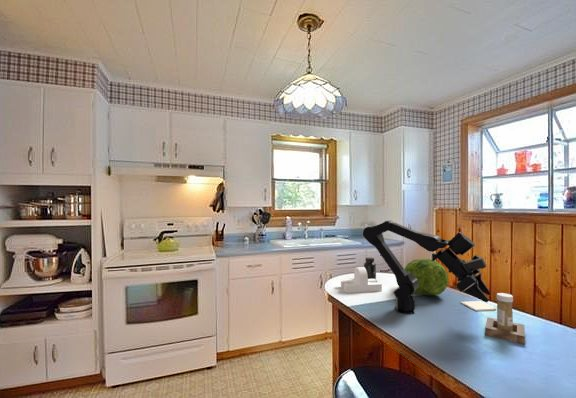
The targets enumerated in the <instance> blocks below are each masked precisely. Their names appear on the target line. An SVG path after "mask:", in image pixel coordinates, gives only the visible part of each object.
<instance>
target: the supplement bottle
mask: <svg viewBox="0 0 576 398" xmlns="http://www.w3.org/2000/svg"><path fill="white" fill-rule="evenodd" d="M363 267H365V269H366V271H367V275H368V279H376V280H377V264H376V262H375V258H374V257H365V262H364V263H363Z"/></svg>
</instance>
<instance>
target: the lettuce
mask: <svg viewBox="0 0 576 398" xmlns="http://www.w3.org/2000/svg"><path fill="white" fill-rule="evenodd" d="M403 268H404V270H405V271H407V272H408V273H410V272H412V273H413V274H414V276H415V277H416V278H417V279H418V280H417V281H418V284H419V286H418V289H417V290H416V291H415V292H416V293H417V294H419V295H422V296H427V297H429V296H437V295H441V294H442V293H444V292H445V290H446V288H447V287H448V284H449V275H448V272H447V269H446V268H445V267H444V266H443V264H442V263H441V262H438V261H436V260H435V261H432V258H420V259H419V258H418V259H413V260H411V261H410V262H408V263H407V264H406V265H405V267H403ZM415 292H414V293H415Z"/></svg>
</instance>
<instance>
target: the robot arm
mask: <svg viewBox="0 0 576 398" xmlns="http://www.w3.org/2000/svg"><path fill="white" fill-rule="evenodd" d="M386 232H392V233H393V234H395V235H398V236H401V237H404V238H406V239H408V240H410V241H412V242H415V243H416V244H417V245H419V247H421V248H422V249H425V250H426V251H427V252H432V253H431V260H432V261H436V260H439V262H440V263H441V264H442V265H444V266H445V267H446V268H447V271H448V273H449V274H452V275H454V277H455V278H457V279H456V281H457V282H456V289H457V290H458V291H459V292H461V293H463V294H464V293H465V294H466V295H468V296H472V297H473V298H476V299H478V300H479V301H481V302H483V303H488V302H489V301H490V300H489V299H488V297H487V296H490V295H491V291H490V290H489V289H488V287H487V285H486V284H485V282H484V280H483V279H482V273H483V272H481V270H482V269H486V268H487V263H486V261H485V259H484V258H483V257H482V256H478V254H477V255H473V256H472V258H471V259H470V260H468V261H466V260H465V259H461V258H460V257H459V255H461V256H464V255H465V254H466V253H468V252H469V251H470V250H471V249H473V248H474V247H476V244H475V243H474V241H473V240H472V239H470V237H468V236H466V235H465V234H463V233H462V232H460V231H459V232H457V233H456V234H455V235H454V236H453V237H452V238H451V239H450V240H448V239H444V238H443V239H442V238H441V237H440V236H439V235H435V234H432V233H426V232H425V233H424V232H421V231H417V230H415V229H412V228H410V227H406V226H405V225H402V224H399V223H397V222H395V221H393V220H384V222H382V223H380V224H377V225H371V226H366V227H364V228H363V230H362V236H363V238H364V239H365V240H366V241H367V242H368V243H369V244H370V245H372V246H373V247H374V248H376V251H377V252H378V253H379V254H380V256H381V257H382V259H383V261H384V262H385V263H386V264H387V266H388V267H389V269H390V271H391V272H392V273H393V275H394V276H395V280H396V283H397V286H398V288H397V289H396V290H394V292H393V294H394V297H395V305H394V308H395V309H396V311H397V313H399V314H400V313H401V314H402V313H403V314H416V313H415V309H416V306H415V304H416V303H415V302H416V301H415V299H414V296H413V294H414V293H415V291H416V290H417V289H418V286H419V284H418V281H417V280H418V279H417V278H416V277H415V276H414V274H413V273H412V272H410V273H408V272H407V271H405V270H404V268H405V267H403V265H402V264H401V263H400V262H399V260H398V258H397V257H396V256H395V254H394V253H393V251H392V250H391V248H390V247H389V245H387V243H386V241H385V238H384V233H386ZM447 246H448V247H447ZM444 248H446V249H444ZM439 249H440V250H439ZM436 251H437V252H436ZM435 252H436V253H435ZM486 295H487V296H486Z"/></svg>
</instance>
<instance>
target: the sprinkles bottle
mask: <svg viewBox="0 0 576 398" xmlns="http://www.w3.org/2000/svg"><path fill="white" fill-rule="evenodd" d="M496 301H497V302H496V304H497V305H496V319H497V323H498V324H497V325H498V328H499V329H504V330H508V331H513V323H514V321H513V320H514V319H513V318H514V317H513V316H514V315H513V302H514V296H513V295H512V294H511V293H505V292H497V293H496Z"/></svg>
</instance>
